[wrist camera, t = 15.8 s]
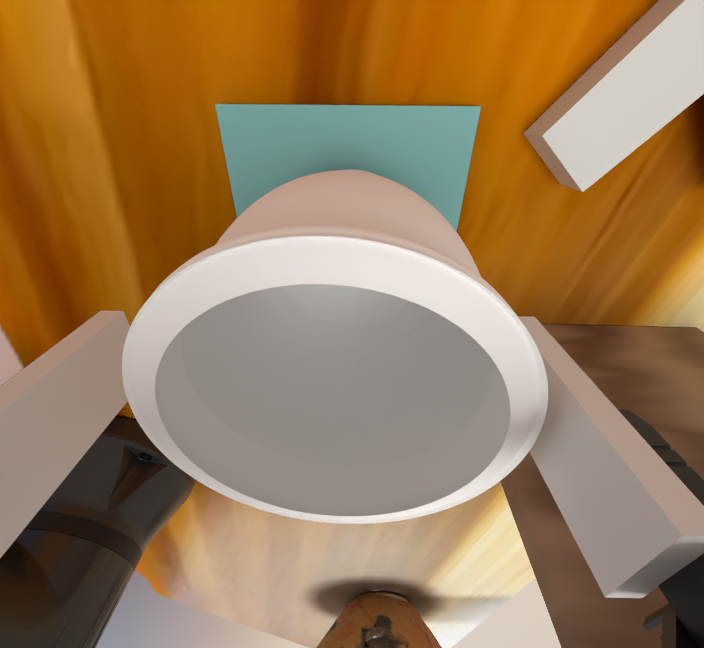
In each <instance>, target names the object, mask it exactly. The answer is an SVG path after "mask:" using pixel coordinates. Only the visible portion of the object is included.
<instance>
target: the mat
mask: <svg viewBox="0 0 704 648" xmlns="http://www.w3.org/2000/svg"><path fill="white" fill-rule="evenodd" d="M215 107H216V112H217V117H218V122H219V128H220V133H221V138H222V143H223V148H224V154H225V159H226V164H227V169H228V174H229V179H230V185H231V190H232V195H233V200H234V205H235V211H236V216H237V218H238V217H239V216H240V215H241V214H242V213H243V212H244V211H245V210H246V209H247V208H248V207H250V206H251V205H252V204H253V203H254V202H256V201H257V200H258V199H260V198H261V197H263V196H264V195H265V194H267V193H269V192H270V191H272V190H274V189H275V188H277V187H279V186H281V185H283V184H285V183H287V182H290V181H292V180H295V179H297V178H300V177H303V176H307V175H310V174H315V173H320V172H326V171H338V170H347V169H354V170H363V171H367V172H371V173H374V174H377V175H379V176H382V177H385V178H387V179H390V180H392V181H395V182H397V183H399V184H401V185H403V186H405V187H407V188H408V189H410V190H412V191H413V192H415V193H416V194H418V195H419V196H421V197H422V198H423V199H425V200H426V201H427V202H429V203H430V204H431V205H432V206H433V207H434V208H435V209H436V210H437V211H439V212H440V213H441V214H442V216H443V217H444V218H445V219H446V220H447V221H448V222H449V223H450V225H451V226H452V227H453V228H454V230H455V231H456V232H457V227H458V222H459V217H460V212H461V207H462V202H463V197H464V191H465V186H466V181H467V176H468V171H469V166H470V161H471V155H472V150H473V145H474V140H475V135H476V130H477V125H478V119H479V114H480V109H481V106H387V105H275V104H215Z"/></svg>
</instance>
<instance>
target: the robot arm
mask: <svg viewBox="0 0 704 648" xmlns="http://www.w3.org/2000/svg"><path fill="white" fill-rule="evenodd" d="M518 318H519V319H520V321H521V322H522V323H523V324H524V326H525V327H526V329H527V330H528V332H529V333H530V335H531V336H532V338H533V340H534V342H535V343H536V345H537V347H538V350H539V352H540V354H541V357H542V360H543V363H544V366H545V370H546V375H547V381H548V405H547V411H546V416H545V420H544V423H543V426H542V428H541V431H540V433H539V435H538V437H537V439H536V441H535V443H534V445H533V446H532V448H531V449H530V451H529V452H530V454H531V455H532V457H533V459H534V461H535V463H536V465H537V467H538V469H539V471H540V473H541V475H542V477H543V479H544V481H545V482H546V484H547V486H548V488H549V490H550V492H551V494H552V496H553V498H554V500H555V502H556V504H557V506H558V508H559V510H560V511H561V513H562V515H563V517H564V519H565V521H566V523H567V525H568V527H569V529H570V531H571V533H572V535H573V537H574V539H575V540H576V542H577V544H578V546H579V548H580V550H581V552H582V554H583V556H584V558H585V560H586V562H587V564H588V566H589V568H590V569H591V571H592V573H593V575H594V577H595V579H596V581H597V583H598V585H599V587H600V589H601V591H602V593H603V595H604V596H605V597H607V598H643V597H644V596H646V595H647V594H649V593H650V592H652V591H653V590H655V589H656V588H657V587H659V588H660V590H661V591H662V593H663V595H664V596H665V598H666V599H667V601H668V602H669V603H668V604H666V605H665V606H663V607H662V608H660V609H658V610H657V611H655V612H654V613H652V614H650V615H649V616H647V617H646V619H645V621H644V624H643V627H644V628H646V629H647V630H648V631H651V630H652V629H654V628H656V627H658V626H659V625H661V624H662V635H661V636H660V639H661V640H662V648H704V480H703V479H702V478H701V477H700V476H699V475H698V474H697V473H696V472H695V471H694V470H693V469H692V468H691V467H688V466H687V464H686V463H687V462H686V461H685V460H684V459H683V458H682V457H681V456H680V455H679V454H678V453H677V452H676V451H675V450H672V449H671V448H670V445H669V444H668V442H667V441H666V440H665V439H664V438H663V437H662V436H661V435H660V434H659V433H658V432H657V431H656V430H655V429H654V428H653V427H652V426H651V425H649V424H648V423H647V422H645V421H644V420H642V419H641V418H639V417H638V416H637V415H635V414H634V413H632V412H631V411H629V410H617V408H616V407H615V406H614V405H613V404H612V403H611V402H610V401H609V399H608V398H607V397H606V396H605V395H604V394H603V393H602V392H601V391H600V389H599V388H598V387H597V386H596V385H595V384H594V383H593V382H592V380H591V379H590V378H589V377H588V376H587V375H586V374H585V373H584V372H583V370H582V369H581V368H580V367H579V366H578V365H577V364H576V363H575V361H574V360H573V359H572V358H571V357H570V356H569V355H568V354H567V353H566V351H565V350H564V349H563V348H562V347H561V346H560V345H559V344H558V342H557V341H556V340H555V339H554V338H553V337H552V336H551V335H550V333H549V332H548V331H547V330H546V329H545V328H544V327H543V326H542V325H541V323H540V322H539V321H538V320H537V319H536V318H535V317H525V316H518ZM129 329H130V324H129V322H128V320H127V318H126V316H125V313H124V311H100V312H98V313H97V314H96V315H94V316H93V317H92V318H90V319H89V320H88V321H86V322H85V323H84V324H82V325H81V326H80V327H78V328H77V329H76V330H74V331H73V332H72V333H71V334H69V335H68V336H67V337H65V338H64V339H63V340H61V341H60V342H59V343H57V344H56V345H55V346H53V347H52V348H51V349H49V350H48V351H47V352H45V353H44V354H43V355H41V356H40V357H39V358H37V359H36V360H35V361H33V362H32V363H31V364H29V365H28V366H27V367H25V368H24V369H23V370H21V371H20V372H19V373H17V374H16V375H15V376H13V377H12V378H11V379H9V380H8V381H7V382H5V383H4V384H3V385H1V386H0V648H96V646H97V644H98V642H99V640H100V638H101V636H102V634H103V632H104V630H105V628H106V626H107V624H108V622H109V620H110V618H111V616H112V614H113V612H114V610H115V608H116V606H117V604H118V602H119V600H120V598H121V596H122V594H123V592H124V590H125V588H126V586H127V584H128V582H129V580H130V578H131V576H132V574H133V572H134V570H135V568H136V566H137V564H138V562H139V560H140V558H141V556H142V554H143V552H144V550H145V549H146V547H147V546H148V544H149V543H150V542H151V541H152V539H153V538H154V537H155V536H156V535H157V534H158V532H159V531H160V530H161V529H162V528H163V527H164V525H165V524H166V523H167V522H168V521H169V520H170V518H171V517H172V516H173V515H174V514H175V512H176V511H177V510H178V509H179V507H180V506H181V505H182V504H183V503H184V502H185V501H186V500H187V498H188V497H189V495H190V493H191V491H192V489H193V487H194V485H195V483H196V479H194V478H192V477H191V476H190V475H188V474H187V473H185V472H184V471H183V470H181V469H180V468H179V467H177V466H176V465H175V464H174V463H173V462H171V461H170V460H169V459H168V458H167V457H166V456H165V455H164V454H163V453H162V452H161V451H160V450H159V449H158V448H157V447H156V446H155V445H154V444H153V442H152V441H151V440H150V439H149V438H148V436H147V435H146V434H145V432H144V431H143V429H142V428H141V426H140V425H139V423H138V422H137V421H134V420H130V419H125V418H120V417H115V416H116V415H117V414H118V412H119V411H120V410H121V409H122V408H123V406H124V405H125V404H126V403H127V401H128V400H127V397H126V393H125V389H124V384H123V378H122V355H123V349H124V344H125V340H126V337H127V334H128V331H129Z"/></svg>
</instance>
